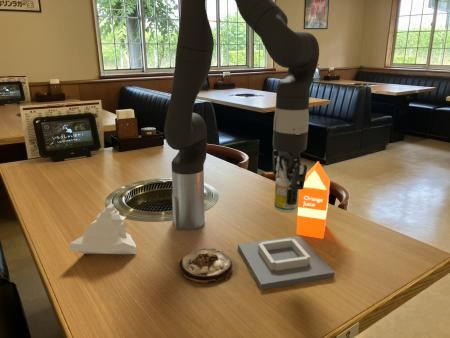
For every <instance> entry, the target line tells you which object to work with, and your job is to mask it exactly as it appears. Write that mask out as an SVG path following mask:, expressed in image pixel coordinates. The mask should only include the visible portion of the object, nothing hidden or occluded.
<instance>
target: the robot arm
mask: <svg viewBox="0 0 450 338" xmlns="http://www.w3.org/2000/svg"><path fill="white" fill-rule="evenodd" d="M206 1H207V0H181V2H180V3H181V5H180V15H179V17H180V18H179V26H178V27H179V28H178V34H177V43H176V49H175V50H176V51H175V58H174V60H175V61H174V62H175V63H174V71H173V78H172V84H171V85H172V87H171V92H170V97H169V98H170V99H169V104H168V109H167V113H166V116H165V121H164V130H163V134H164V140H165V141H166V143H167V145H168V146H169V147H170V148H171V149H172V150H174V151H178V152H177V154H176V155H175V156H174V157H173V159H172V161H171V179H172V180H171V181H172V182H171V183H172V186H171V187H172V192H171V199H172V201H171V203H172V205H171V207H172V221H173V225H174V228H175V229H176V230H183V231H184V230H187V231H190V230H197V229H200V228H201V227H203V226H204V225H205V223H206V221H205V218H206V217H205V216H206V215H205V177H204V176H205V174H204V173H205V170H204V169H205V168H204V167H205V162H206V159H207V153H208V152H207V149H208V144H207V143H208V129H207V126H206V122H205V119H204V118H203V117H202V116H201V115H200V114H199V113H197V112H196V113H195V112H194V107H195V103H196V99H197V97H198V95H199V93H200V91H201V89H202V88H203V86H204V84H205V82H206V80H207V78H208V76H209V74H210V71H211V66H212V61H213V55H214V47H215V42H214V41H215V40H214V35H213V34H214V33H213V31H212V27H211V24H210V21H209V17H208V12H207V6H206V4H207V3H206ZM234 1H235V4H236V7H237V10H238V12H239V15H240V16H241V17H242V19H243V21H244V22H245V23H246V24H247V25H248V26H249V27H250V29H252V31H253V32H254V33H255V34H256V35H257V36H258V37H259V39H260V40H261V42H262V45H263V46H264V48H265V50H266V52H267V54H268V55H269V57H270V59H271V60H272V61H274V63H275V64H277V65H278V66H280V67H282V68H285V69H287V72H286V76H285V78H283V79H281V80H280V81H279V82H278V83H277V85H276V95H275V96H276V97H275V109H274V110H275V111H274V117H273V129H272V130H273V132H272V149H273V150H272V174H273V175H275V180H276V179H277V178H278V177H280V176H279V169H280V168H281V169H283V170H284V178H285V179H286V180H287V187H288V189H287V201H286V203H287V204H288V205H295V204H296V203H297V204H298V200H297V190H298V191H299V190H301V189H303V188H304V183H305V177H306V174H307V173H308V171H307V170H308V165H307V164H302V163H301V154H302V152H305V151H306V150H307V145H308V134H309V133H308V132H309V119H310V117H309V116H310V115H309V114H310V113H309V108H310V106H309V105H310V93H311V92H310V91H311V85H312V84H313V80H314V77H315V74H316V71H317V66H318V63H319V58H320V45H319V42H318V39H317V37H315V35H314V34H312V33H310V32H307V31H294V30H292V29H291V28H290V27H289V26H288V23H289V21H288V17H287V15H286V12H284V10H283V9H282V8H281V7H279V6H278V4H277V3H276V2H275V1H274V0H234ZM289 174H293V176H290V175H289ZM291 179H292V183H291Z"/></svg>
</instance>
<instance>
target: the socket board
mask: <svg viewBox="0 0 450 338" xmlns="http://www.w3.org/2000/svg"><path fill="white" fill-rule="evenodd" d="M237 250H238V252H239V254H240V255H241V257H242V258H243V260H244V262H245V264H246V266H247V268H248V269H249V271H250V273H251V275H252V276H253V279H254V280H255V282H256V283H257V285H258V287H259V289H260V290H261V291H263V290H264V291H265V290H268V289H275V288H281V287H287V286H293V285H294V286H295V285H299V284H304V283H312V282H316V281H323V280H328V279H334V278H335V271H334V270H333V269H332V267H330V266H329V265H328V263H327V262H326V261H325V260H324V259H323V258H322V257H321V256H320V255H319V254H318V253H317V252H316V251H315V250H314V249H313V248H312V246H310V244H309V243H308V241H306V240H305V239H304V238H303V237H302V235H295V236H294V235H293V236H288V237H287V236H286V237H280V238H279V237H278V238H272V239H266V240H265V239H264V240H258V241H249V242H244V243H243V242H242V243H241V242H240V243H237Z"/></svg>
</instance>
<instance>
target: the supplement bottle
mask: <svg viewBox="0 0 450 338" xmlns="http://www.w3.org/2000/svg"><path fill="white" fill-rule="evenodd" d="M289 175H290V176H293V174H289ZM279 176H280V177H278V178H277V179H276V178H275V186H274V204H273V205H274V207H273V208H274V210H276V211H278V212H280V213H285V214H288V213H294V212H295V211H296V210H298V202H297V203H296V204H295V205H288V204H287V203H286V201H287V189H288V187H287V180H286V179H285V178H284V170H283V169H281V168H280V169H279ZM291 183H292V179H291ZM297 201H299V190H297Z"/></svg>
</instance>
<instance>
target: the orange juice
mask: <svg viewBox="0 0 450 338" xmlns="http://www.w3.org/2000/svg"><path fill="white" fill-rule="evenodd" d="M330 186H331V179H330V178H329V176H328V175H327V173H326V171H325V169H324V168H323V167H322V165H321V164H320V161H316V163H315V164H314V165H313V166H312V167H311V168H310V169H309V171H307V172H306V177H305V183H304V188H303V189H301V190H298V203H297V222H296V233H295V234H296V236H304V237H311V238H316V239H324V236H325V231H326V226H327V218H328V217H327V215H328V208H329V207H328V206H329V195H330Z"/></svg>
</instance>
